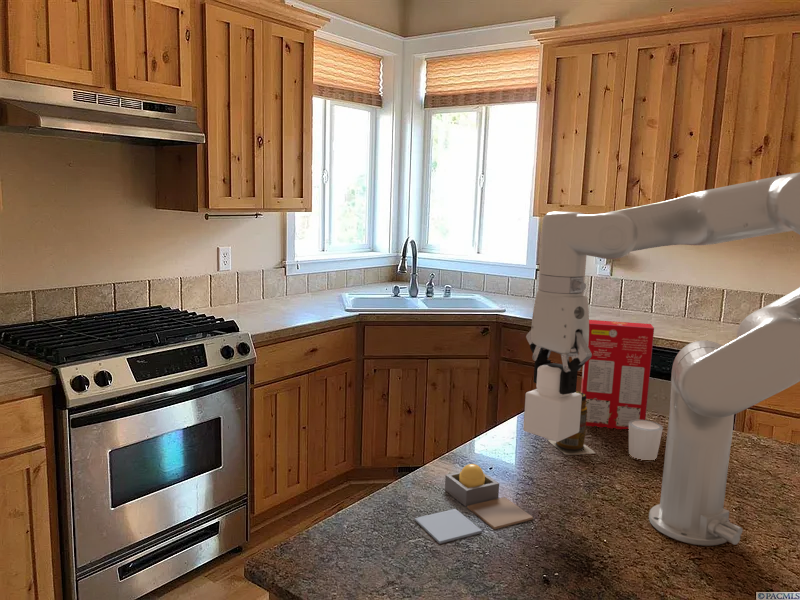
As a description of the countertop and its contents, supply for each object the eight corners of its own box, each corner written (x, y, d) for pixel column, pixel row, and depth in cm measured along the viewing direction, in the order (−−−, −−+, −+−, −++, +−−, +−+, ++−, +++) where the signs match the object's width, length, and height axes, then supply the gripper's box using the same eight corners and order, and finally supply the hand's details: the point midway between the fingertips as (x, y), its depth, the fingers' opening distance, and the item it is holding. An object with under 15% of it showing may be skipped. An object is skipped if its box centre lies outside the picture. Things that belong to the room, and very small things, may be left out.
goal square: (481, 532, 104) (481, 530, 104) (439, 543, 100) (439, 541, 100) (455, 510, 111) (455, 508, 111) (414, 520, 107) (414, 518, 107)
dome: (489, 494, 116) (490, 467, 115) (467, 499, 114) (469, 471, 113) (474, 483, 120) (476, 458, 119) (453, 488, 118) (455, 462, 117)
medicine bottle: (545, 422, 118) (549, 358, 116) (579, 432, 113) (584, 366, 111) (522, 431, 113) (526, 365, 111) (557, 442, 108) (562, 373, 106)
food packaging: (641, 424, 157) (650, 324, 153) (644, 431, 152) (654, 328, 148) (578, 417, 160) (586, 319, 156) (579, 425, 155) (587, 323, 151)
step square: (533, 519, 109) (533, 517, 109) (494, 529, 105) (494, 527, 105) (504, 499, 116) (504, 497, 116) (467, 507, 112) (467, 505, 112)
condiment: (576, 439, 146) (580, 388, 144) (595, 453, 138) (600, 400, 136) (547, 441, 144) (550, 389, 142) (564, 455, 136) (568, 401, 134)
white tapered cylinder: (632, 446, 142) (635, 416, 141) (664, 455, 138) (667, 424, 137) (620, 456, 137) (623, 424, 136) (653, 465, 133) (656, 432, 132)
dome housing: (498, 498, 116) (499, 483, 115) (465, 506, 112) (466, 490, 112) (476, 483, 122) (477, 468, 121) (444, 490, 119) (445, 474, 118)
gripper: (615, 291, 103) (606, 399, 106) (545, 278, 118) (539, 372, 121) (580, 293, 99) (571, 405, 102) (512, 279, 115) (506, 377, 118)
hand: (554, 386), depth 112 cm, fingers closed on medicine bottle, 6 cm apart
